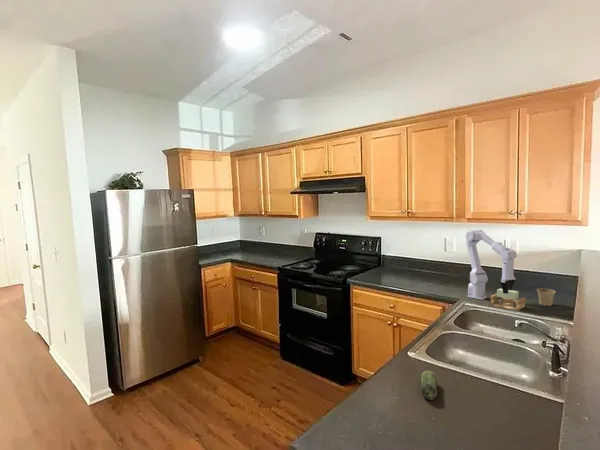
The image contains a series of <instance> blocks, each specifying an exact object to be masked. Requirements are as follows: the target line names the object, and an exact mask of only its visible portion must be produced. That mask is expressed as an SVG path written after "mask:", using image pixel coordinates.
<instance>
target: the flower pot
mask: <svg viewBox="0 0 600 450" xmlns="http://www.w3.org/2000/svg"><path fill="white" fill-rule="evenodd" d="M536 292H537V295H538V303H539V305H541V306H549V307H550V306H553V302H554V297H555V295H556V292H557V291H556V290H555V289H554V290H553V289H550V288H537V289H536Z"/></svg>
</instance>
